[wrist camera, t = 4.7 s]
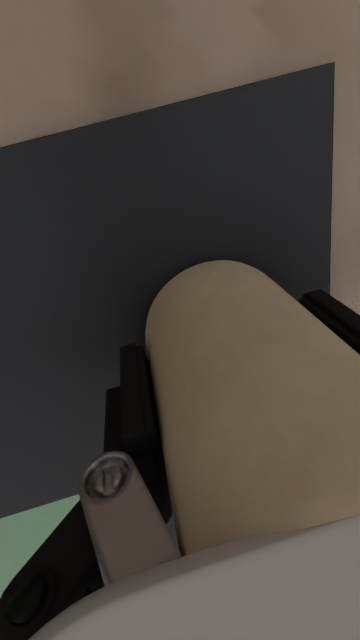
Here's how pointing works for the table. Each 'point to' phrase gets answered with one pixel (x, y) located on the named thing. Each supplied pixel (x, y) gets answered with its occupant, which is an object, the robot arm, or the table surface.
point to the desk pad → (138, 260)
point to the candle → (251, 407)
